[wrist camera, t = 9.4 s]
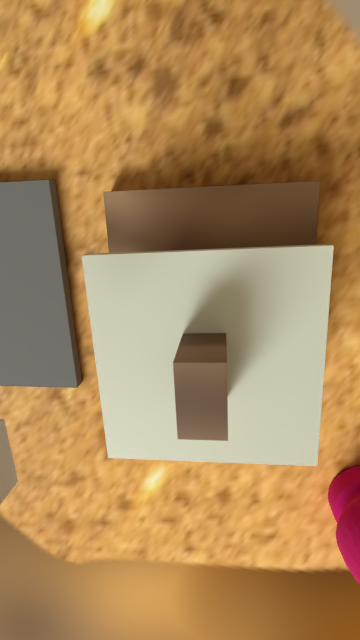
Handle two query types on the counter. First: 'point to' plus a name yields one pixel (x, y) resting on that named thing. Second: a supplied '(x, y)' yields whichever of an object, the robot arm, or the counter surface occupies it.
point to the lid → (211, 352)
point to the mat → (35, 290)
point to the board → (212, 217)
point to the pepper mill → (347, 516)
